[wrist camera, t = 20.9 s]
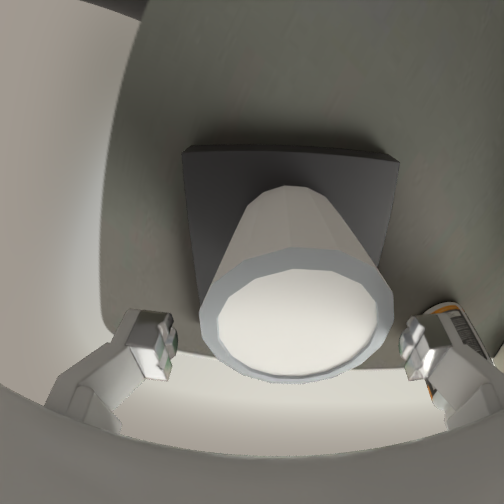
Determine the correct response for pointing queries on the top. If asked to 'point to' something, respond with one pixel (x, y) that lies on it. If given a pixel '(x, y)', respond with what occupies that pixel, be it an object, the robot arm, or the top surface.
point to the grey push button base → (276, 175)
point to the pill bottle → (467, 337)
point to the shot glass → (295, 293)
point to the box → (499, 359)
